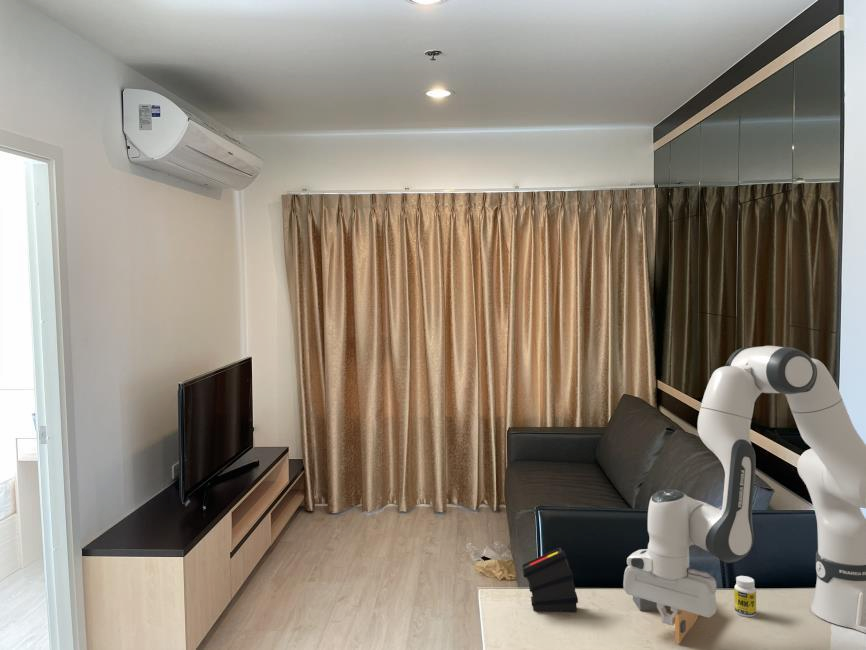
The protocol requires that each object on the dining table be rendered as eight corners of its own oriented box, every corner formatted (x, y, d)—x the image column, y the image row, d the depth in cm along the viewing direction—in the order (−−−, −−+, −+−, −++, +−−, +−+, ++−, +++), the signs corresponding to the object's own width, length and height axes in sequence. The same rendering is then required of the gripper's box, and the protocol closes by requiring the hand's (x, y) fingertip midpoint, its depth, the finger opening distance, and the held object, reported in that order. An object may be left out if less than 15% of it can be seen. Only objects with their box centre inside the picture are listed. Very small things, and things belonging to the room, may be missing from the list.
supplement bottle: (736, 616, 156) (735, 581, 156) (733, 607, 160) (732, 574, 160) (757, 618, 155) (757, 583, 154) (754, 609, 159) (754, 576, 159)
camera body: (687, 598, 166) (687, 568, 165) (696, 609, 160) (696, 577, 159) (632, 599, 166) (632, 569, 165) (640, 610, 160) (639, 578, 159)
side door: (700, 607, 159) (699, 583, 159) (706, 609, 159) (705, 585, 158) (675, 642, 144) (675, 615, 143) (681, 644, 143) (681, 617, 143)
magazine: (590, 606, 159) (562, 552, 159) (541, 628, 160) (514, 573, 160) (588, 599, 163) (561, 546, 163) (540, 620, 164) (514, 567, 164)
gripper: (720, 570, 142) (721, 632, 142) (631, 548, 155) (631, 605, 155) (711, 579, 137) (711, 644, 137) (620, 556, 150) (620, 615, 151)
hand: (668, 623), depth 147 cm, fingers closed
